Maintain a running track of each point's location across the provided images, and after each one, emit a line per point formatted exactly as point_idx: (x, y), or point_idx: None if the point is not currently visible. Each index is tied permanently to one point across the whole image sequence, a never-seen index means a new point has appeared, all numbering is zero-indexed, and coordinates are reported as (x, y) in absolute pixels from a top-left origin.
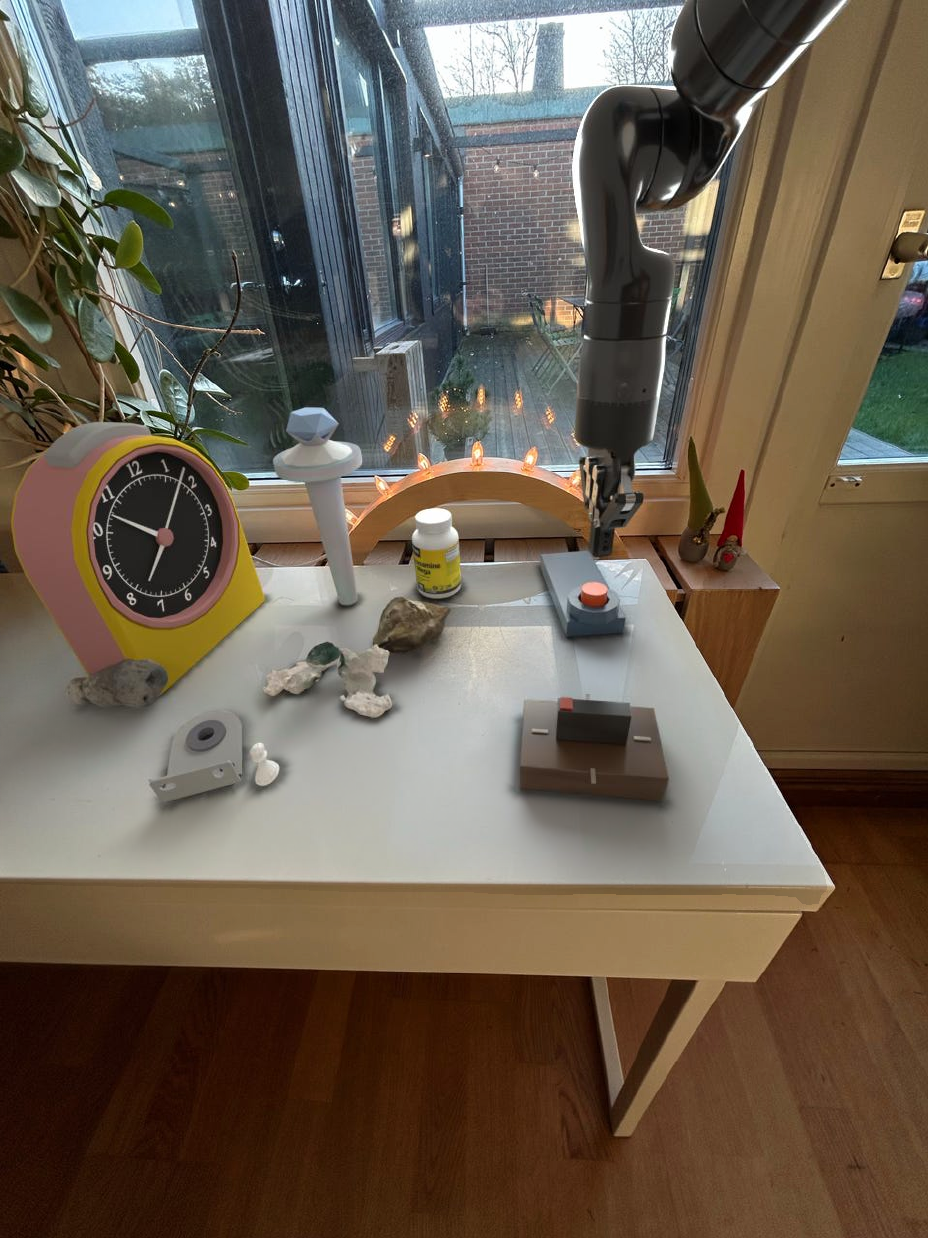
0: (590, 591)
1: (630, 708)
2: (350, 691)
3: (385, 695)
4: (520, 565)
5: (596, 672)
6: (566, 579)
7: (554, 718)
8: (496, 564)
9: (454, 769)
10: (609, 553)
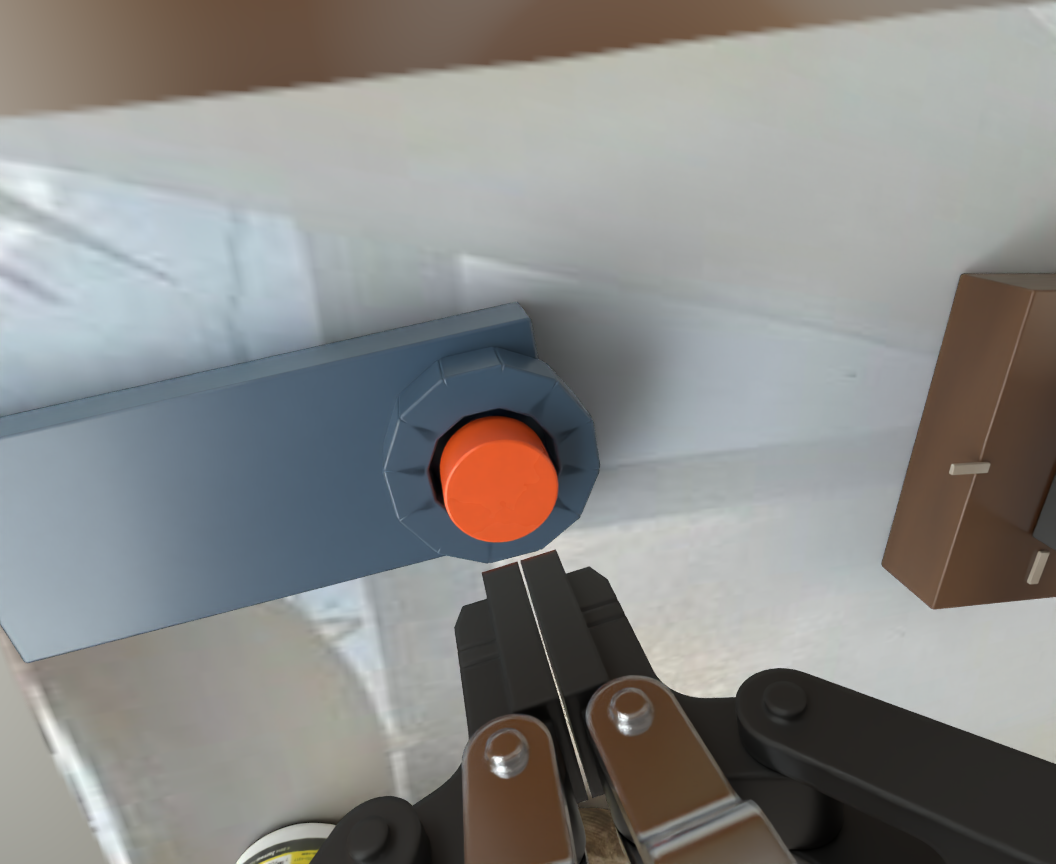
0: (530, 510)
1: None
2: None
3: None
4: (63, 686)
5: (725, 401)
6: (249, 545)
7: (1007, 540)
8: (83, 763)
9: (973, 661)
10: (590, 570)
